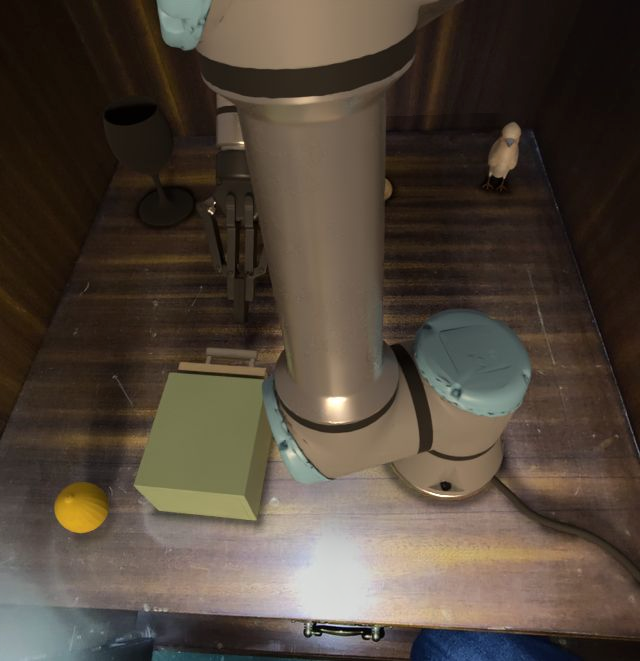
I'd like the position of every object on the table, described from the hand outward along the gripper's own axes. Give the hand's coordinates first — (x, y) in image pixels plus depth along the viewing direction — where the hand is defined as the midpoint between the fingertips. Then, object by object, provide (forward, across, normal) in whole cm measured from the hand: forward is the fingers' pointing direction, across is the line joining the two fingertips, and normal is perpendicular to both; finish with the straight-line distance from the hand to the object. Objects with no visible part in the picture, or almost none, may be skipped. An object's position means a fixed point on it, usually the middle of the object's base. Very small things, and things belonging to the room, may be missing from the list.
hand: (240, 322), depth 75 cm
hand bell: (-22, -17, -30) cm, 41 cm away
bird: (-23, -40, -31) cm, 56 cm away
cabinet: (+17, 0, +9) cm, 19 cm away
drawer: (+13, 0, +6) cm, 14 cm away
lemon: (+23, +14, +15) cm, 31 cm away
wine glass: (-17, +21, -25) cm, 37 cm away
